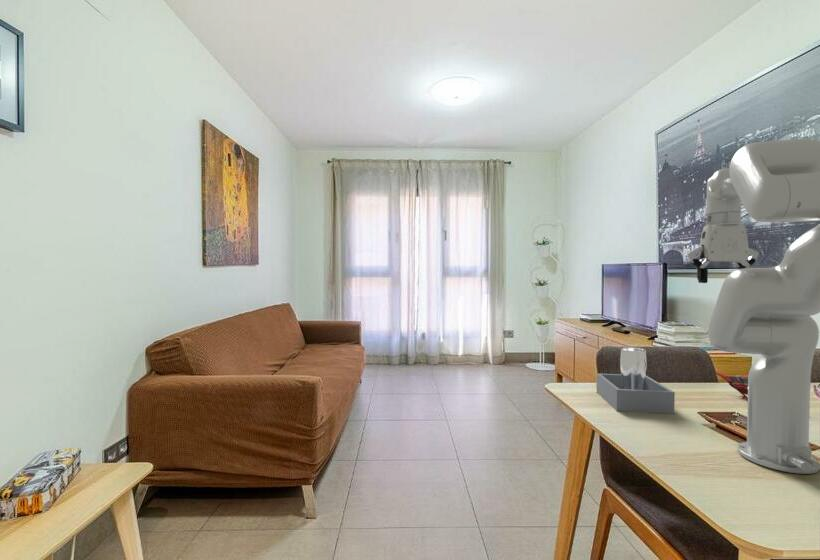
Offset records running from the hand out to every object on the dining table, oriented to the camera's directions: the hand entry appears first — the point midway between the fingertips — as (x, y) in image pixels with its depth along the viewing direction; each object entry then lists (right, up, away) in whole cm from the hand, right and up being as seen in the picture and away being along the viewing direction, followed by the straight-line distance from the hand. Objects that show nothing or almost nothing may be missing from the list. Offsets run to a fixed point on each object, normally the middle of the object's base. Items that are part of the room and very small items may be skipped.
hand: (722, 282), depth 110 cm
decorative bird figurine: (+17, -36, +15) cm, 43 cm away
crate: (-19, -36, +11) cm, 42 cm away
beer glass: (-19, -35, +11) cm, 41 cm away
